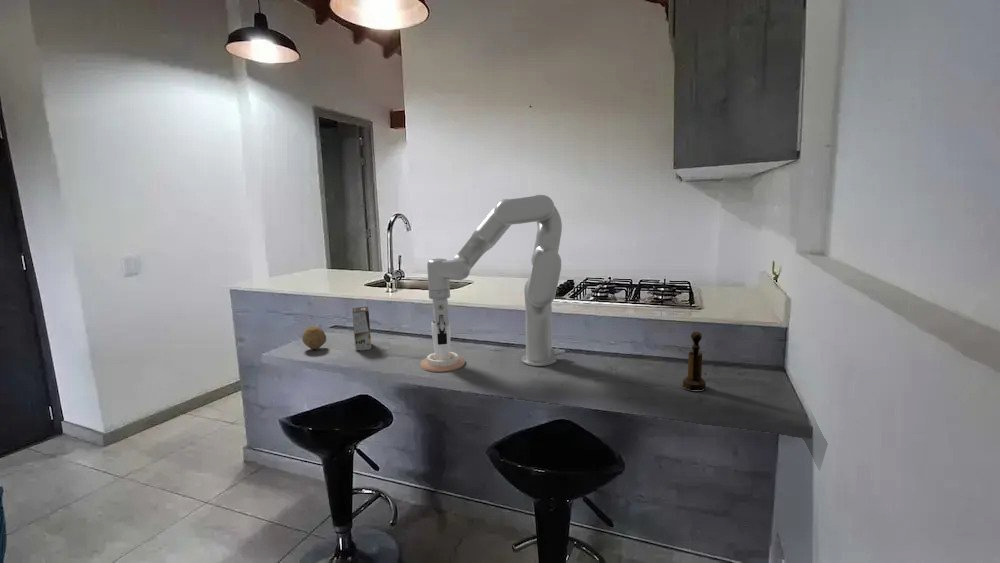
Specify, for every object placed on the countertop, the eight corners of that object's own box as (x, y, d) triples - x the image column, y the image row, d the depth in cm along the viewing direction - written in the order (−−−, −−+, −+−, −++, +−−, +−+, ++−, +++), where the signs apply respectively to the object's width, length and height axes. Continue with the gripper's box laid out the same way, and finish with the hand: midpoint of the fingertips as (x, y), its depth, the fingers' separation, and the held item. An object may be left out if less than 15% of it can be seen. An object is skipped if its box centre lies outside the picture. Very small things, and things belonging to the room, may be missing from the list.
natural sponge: (297, 351, 195) (295, 327, 194) (314, 345, 203) (311, 322, 202) (315, 353, 192) (312, 329, 190) (330, 347, 200) (328, 324, 198)
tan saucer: (462, 355, 185) (462, 347, 185) (466, 369, 170) (466, 361, 169) (420, 358, 183) (419, 351, 182) (421, 373, 167) (420, 365, 167)
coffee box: (371, 349, 196) (368, 310, 193) (355, 351, 194) (352, 312, 191) (370, 343, 204) (368, 306, 202) (355, 344, 203) (352, 307, 200)
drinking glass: (448, 364, 172) (447, 324, 170) (430, 364, 174) (428, 323, 171) (454, 358, 179) (452, 319, 176) (436, 357, 180) (434, 318, 178)
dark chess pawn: (687, 382, 154) (689, 327, 150) (708, 386, 150) (711, 330, 146) (679, 389, 149) (682, 332, 145) (701, 394, 145) (704, 336, 141)
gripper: (451, 297, 164) (454, 346, 167) (448, 288, 181) (450, 333, 184) (429, 299, 163) (432, 348, 166) (428, 289, 179) (430, 334, 182)
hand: (441, 340), depth 175 cm, fingers open, 8 cm apart
